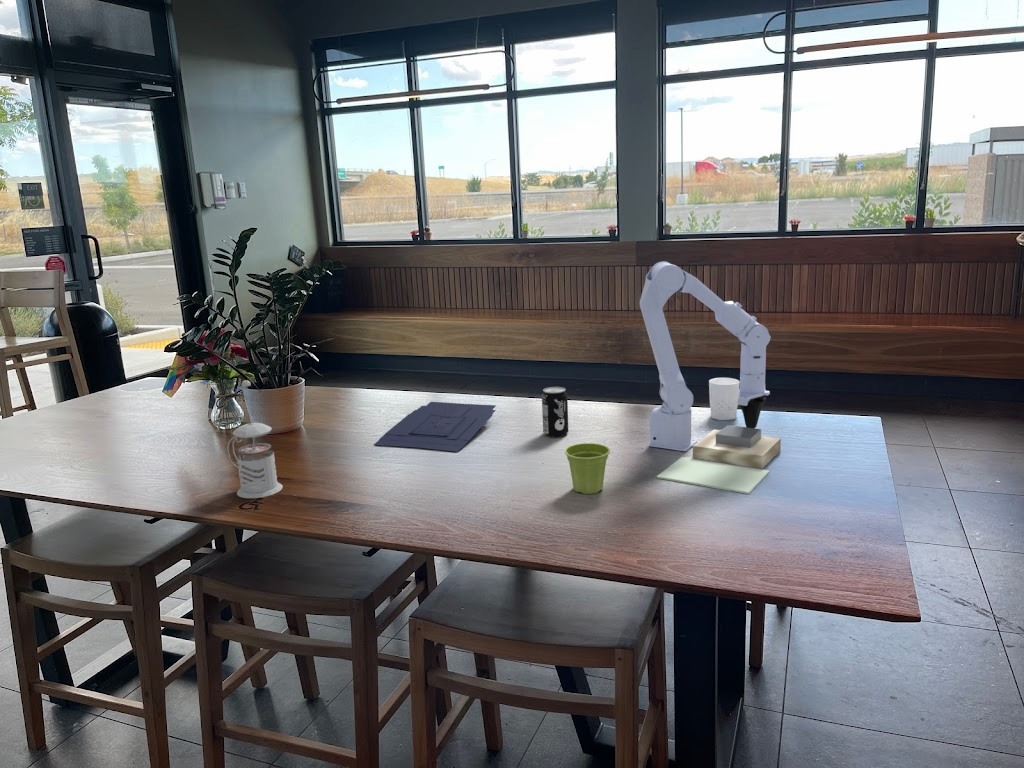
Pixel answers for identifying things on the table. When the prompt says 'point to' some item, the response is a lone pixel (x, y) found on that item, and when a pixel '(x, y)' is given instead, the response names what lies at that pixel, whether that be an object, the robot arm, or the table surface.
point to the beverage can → (555, 411)
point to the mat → (714, 475)
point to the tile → (738, 436)
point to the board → (737, 451)
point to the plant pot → (587, 466)
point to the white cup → (724, 398)
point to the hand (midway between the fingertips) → (751, 427)
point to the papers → (438, 426)
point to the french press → (255, 461)
